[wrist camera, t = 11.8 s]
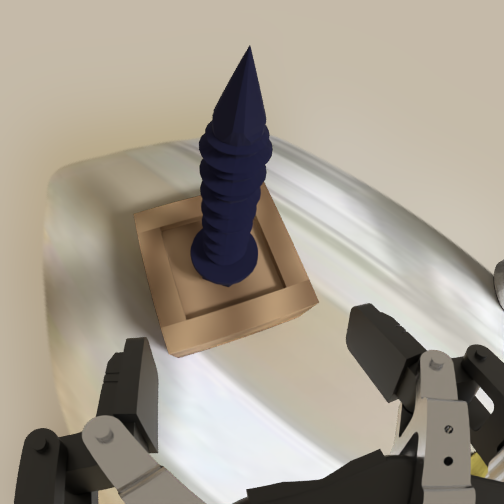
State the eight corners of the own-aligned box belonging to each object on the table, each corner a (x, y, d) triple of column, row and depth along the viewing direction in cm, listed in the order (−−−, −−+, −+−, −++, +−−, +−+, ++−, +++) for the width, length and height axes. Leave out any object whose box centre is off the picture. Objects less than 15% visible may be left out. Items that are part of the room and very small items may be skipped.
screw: (180, 259, 23) (226, 224, 25) (220, 305, 22) (267, 265, 24) (139, 43, 7) (253, 13, 9) (244, 108, 6) (357, 66, 8)
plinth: (254, 212, 31) (263, 180, 26) (298, 316, 27) (319, 302, 22) (146, 242, 28) (133, 213, 23) (178, 358, 24) (168, 353, 19)
